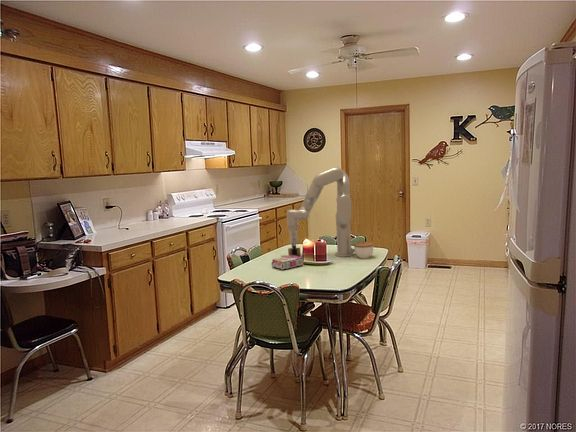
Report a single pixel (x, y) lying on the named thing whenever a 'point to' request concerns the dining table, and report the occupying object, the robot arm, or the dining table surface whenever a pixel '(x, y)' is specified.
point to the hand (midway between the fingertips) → (294, 253)
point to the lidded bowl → (363, 249)
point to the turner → (291, 252)
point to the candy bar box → (287, 262)
